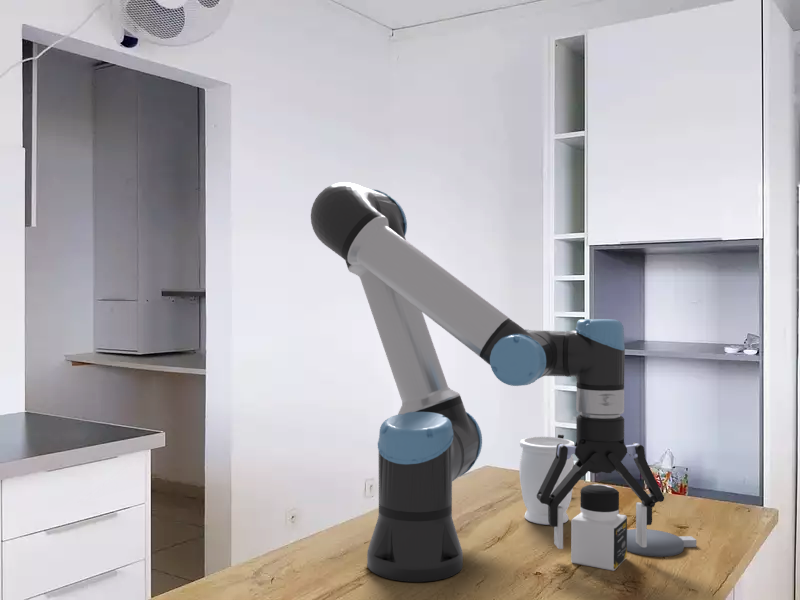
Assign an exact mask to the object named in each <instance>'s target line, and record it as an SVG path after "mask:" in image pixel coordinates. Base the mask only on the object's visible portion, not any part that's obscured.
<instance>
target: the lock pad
mask: <svg viewBox="0 0 800 600" xmlns="http://www.w3.org/2000/svg"><path fill="white" fill-rule="evenodd" d="M684 548H697V539H696V538H695V537H693V536H692V535H690V536H689V535H687V536H685V535H684V536H683V535H682V536H678V535H675V534H674V533H670V532H668V531H662V530H657V529H648V528H647V547H641V546H640V545H639V544H638V543H637V542H636V527H631V528H628V527H627V553H628V552H629V553H631V554H635V555H641V556H648V557H672V556H674V557H675V556H677V555H680V554H682V553H683V552H684Z"/></svg>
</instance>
